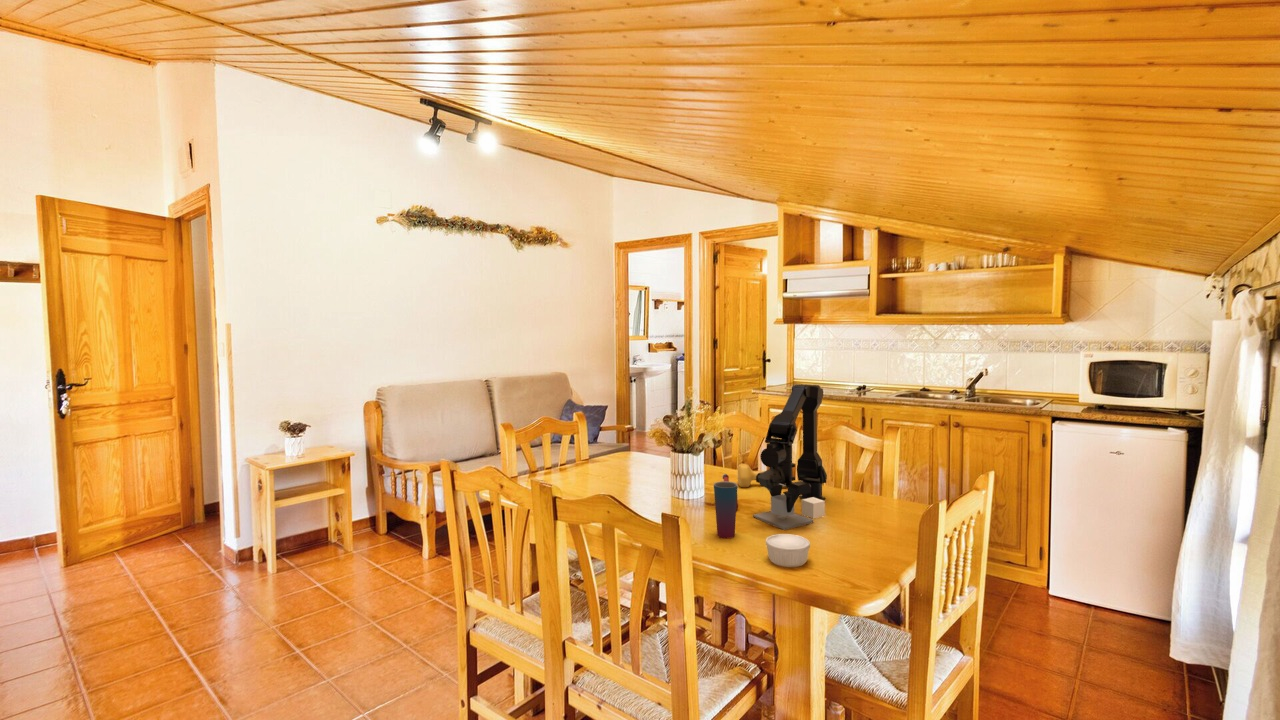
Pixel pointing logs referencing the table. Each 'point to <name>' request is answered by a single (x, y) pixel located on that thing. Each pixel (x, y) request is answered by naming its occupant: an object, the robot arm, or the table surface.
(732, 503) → the cup
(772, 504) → the slate block
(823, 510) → the cream block
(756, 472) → the dumbbell
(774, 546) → the ramekin
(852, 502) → the table surface
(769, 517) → the baseplate
